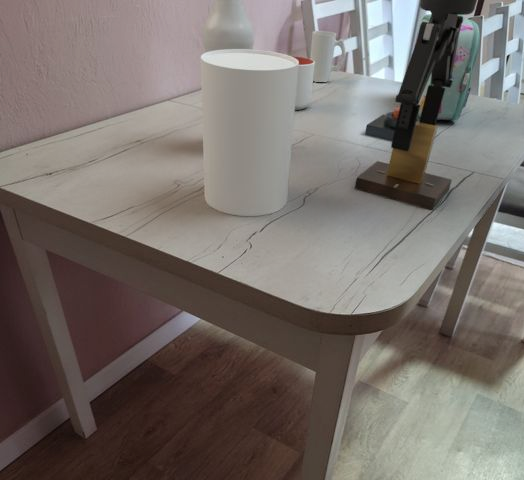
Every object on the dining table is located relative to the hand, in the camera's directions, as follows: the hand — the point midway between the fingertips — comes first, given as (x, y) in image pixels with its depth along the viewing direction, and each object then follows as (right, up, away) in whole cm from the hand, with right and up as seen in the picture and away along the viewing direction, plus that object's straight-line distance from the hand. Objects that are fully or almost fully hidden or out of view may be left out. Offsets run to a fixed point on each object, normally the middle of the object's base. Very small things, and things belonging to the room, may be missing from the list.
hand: (413, 138), depth 80 cm
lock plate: (0, -7, +6) cm, 9 cm away
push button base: (+5, +13, +29) cm, 32 cm away
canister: (-28, -10, 0) cm, 30 cm away
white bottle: (-32, +6, +18) cm, 37 cm away
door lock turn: (0, -5, +4) cm, 7 cm away
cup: (-18, +27, +43) cm, 53 cm away
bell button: (+6, +16, +27) cm, 31 cm away
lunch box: (+18, +26, +45) cm, 55 cm away
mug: (-7, +45, +64) cm, 78 cm away
